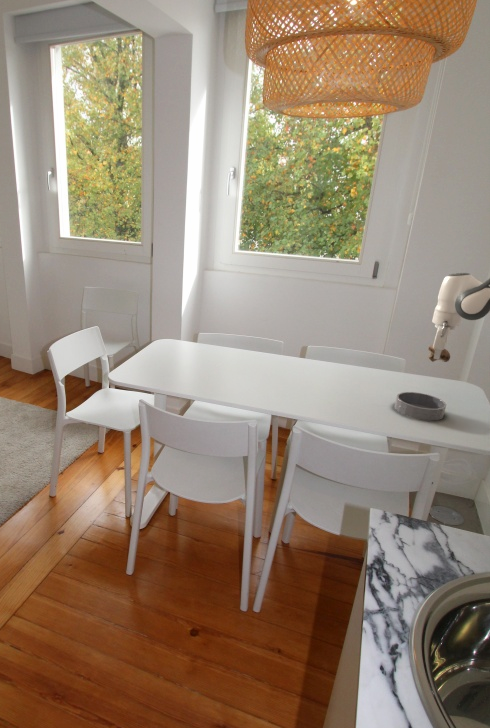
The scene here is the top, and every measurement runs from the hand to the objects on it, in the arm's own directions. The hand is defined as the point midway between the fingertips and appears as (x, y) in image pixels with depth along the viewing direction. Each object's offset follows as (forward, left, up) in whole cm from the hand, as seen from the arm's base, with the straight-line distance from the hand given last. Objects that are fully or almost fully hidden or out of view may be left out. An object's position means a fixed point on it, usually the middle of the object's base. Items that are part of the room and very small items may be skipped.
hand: (437, 355), depth 172 cm
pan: (+1, +18, -17) cm, 24 cm away
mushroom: (0, 0, -2) cm, 2 cm away
